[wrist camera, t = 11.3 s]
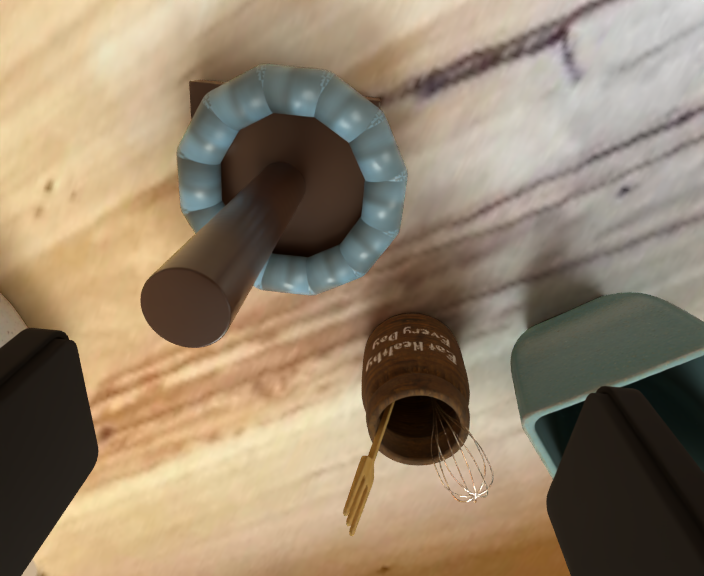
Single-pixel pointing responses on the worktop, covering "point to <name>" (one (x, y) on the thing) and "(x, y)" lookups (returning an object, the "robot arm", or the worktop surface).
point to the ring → (334, 112)
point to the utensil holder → (412, 402)
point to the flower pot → (610, 368)
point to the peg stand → (256, 221)
